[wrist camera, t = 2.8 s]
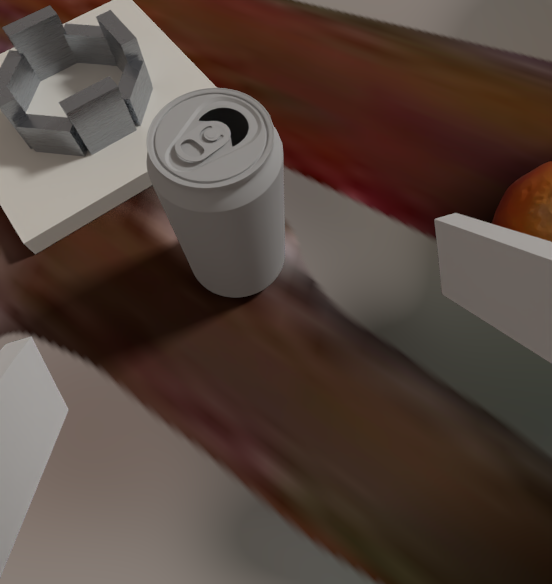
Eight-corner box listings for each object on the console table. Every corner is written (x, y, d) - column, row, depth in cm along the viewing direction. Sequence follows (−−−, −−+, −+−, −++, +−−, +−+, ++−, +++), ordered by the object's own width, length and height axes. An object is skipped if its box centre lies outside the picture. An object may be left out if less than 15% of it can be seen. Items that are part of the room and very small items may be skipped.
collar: (109, 35, 37) (89, -13, 34) (174, 109, 34) (160, 63, 30) (-8, 93, 35) (-42, 47, 31) (50, 178, 32) (19, 138, 28)
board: (131, 10, 41) (126, -6, 39) (245, 129, 35) (243, 115, 34) (-57, 102, 37) (-71, 87, 36) (35, 254, 31) (23, 243, 30)
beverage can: (304, 256, 30) (313, 128, 19) (237, 321, 29) (206, 221, 18) (239, 203, 32) (213, 58, 21) (172, 261, 31) (107, 136, 20)
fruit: (515, 156, 32) (635, 118, 24) (561, 249, 33) (688, 241, 25) (434, 217, 30) (537, 197, 22) (487, 313, 31) (600, 325, 24)
